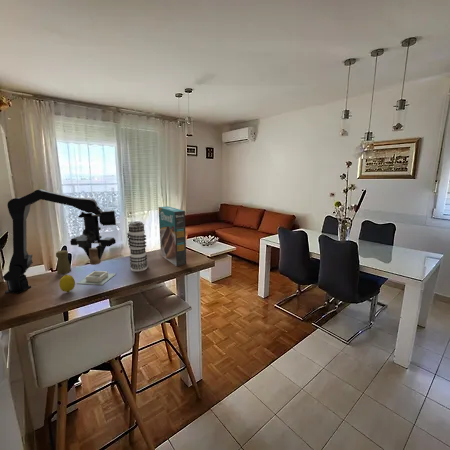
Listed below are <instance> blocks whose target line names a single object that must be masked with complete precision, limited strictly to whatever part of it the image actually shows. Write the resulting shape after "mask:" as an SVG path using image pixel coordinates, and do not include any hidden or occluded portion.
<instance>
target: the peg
mask: <svg viewBox="0 0 450 450" xmlns="http://www.w3.org/2000/svg"><path fill="white" fill-rule="evenodd" d="M96 247H97V246H95V247H92V248H90V249H89V257H90V259H89V264H90V265H91V266H92V265H94V266H95V265H99V264H101V263H102V261H101V259H99V257H98V249H97V248H96Z"/></svg>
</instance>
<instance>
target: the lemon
mask: <svg viewBox="0 0 450 450" xmlns="http://www.w3.org/2000/svg"><path fill="white" fill-rule="evenodd" d="M58 284H59V285H58V286H59V288H60V290H61V291H62V292H65V293H71V291H72V290H73V289H74V288H75V286H76V281H75V278H74V277H73V275H69V274H65V275H63V276H62V277H61V278H59V283H58Z"/></svg>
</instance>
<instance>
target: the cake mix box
mask: <svg viewBox="0 0 450 450" xmlns="http://www.w3.org/2000/svg"><path fill="white" fill-rule="evenodd" d="M158 225H159V227H158V228H159V242H160V243H159V246H160V249H159V250H160V256H161V257H162V258H164V259H165V260H166V261H168V262H169V263H171V264H172V265H174V266H175V267H179V266H184V265H187V242H186V241H187V240H186V239H187V237H186V232H187V231H186V211H185V210H183V209H181V208H176V207H172V206H169V205H167V206H158Z"/></svg>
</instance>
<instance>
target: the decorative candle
mask: <svg viewBox="0 0 450 450" xmlns="http://www.w3.org/2000/svg"><path fill="white" fill-rule="evenodd" d="M127 228H128V232H127V233H126V235H127V239H128V240H127V241H128V242H127V243H128V248H129V250H130V253H129V255H130V256H129V263H130V264H129V266H130V270H131V271H132V272H142V271H146V270H147V269H148V255H147V252H146V248H147V241H146V240H147V238H146V237H147V235H146V232H145V231H146V230H145V224H144V222H142V221H139V220H138V221H131V222H130V223H129V224H128V225H127Z"/></svg>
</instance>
